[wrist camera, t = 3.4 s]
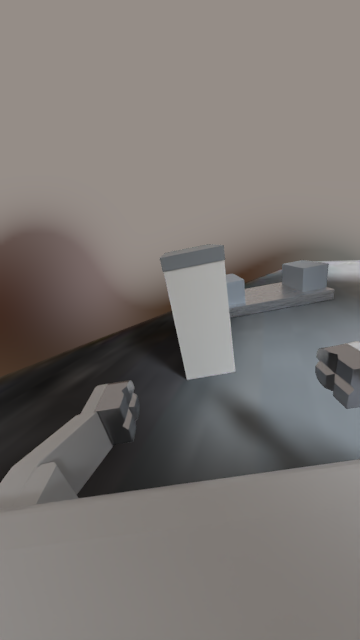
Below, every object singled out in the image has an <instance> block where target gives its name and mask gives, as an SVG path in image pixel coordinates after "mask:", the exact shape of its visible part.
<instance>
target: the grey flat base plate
mask: <svg viewBox="0 0 360 640" xmlns="http://www.w3.org/2000/svg"><path fill="white" fill-rule="evenodd" d="M333 297H334V289H332V288H328V287H326V288H322V289H317V290H311V291H306V292H301V291H298V290H296V289H293V288H291V287H288V286H286V285H283V284H282V282H280V283H274V284H269V285H264V286H258V287H253V288H248V289H245V303H240V304H235V305H229V314H230V318H232V317H238V316H243V315H249V314H254V313H260V312H265V311H271V310H277V309H282V308H288V307H293V306H299V305H304V304H310V303H315V302H321V301H327V300H332V299H333Z"/></svg>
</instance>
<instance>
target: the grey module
mask: <svg viewBox="0 0 360 640" xmlns="http://www.w3.org/2000/svg"><path fill="white" fill-rule="evenodd" d="M160 260H161V265H162V270H163V272H164V276H165V280H166V285H167V290H168V294H169V299H170V304H171V308H172V313H173V318H174V322H175V327H176V332H177V336H178V341H179V345H180V350H181V355H182V359H183V364H184V369H185V373H186V378H187V380H189V379H195V378H201V377H207V376H213V375H219V374H225V373H231V372H235V364H234V354H233V344H232V334H231V324H230V314H229V304H228V294H227V283H226V274H225V263H224V260H225V255H224V246H223V245H211V244H207V245H203V246H198V247H192V248H187V249H183V250H178V251H173V252H168V253H165V254H164V255H163V256H162V257H161V258H160Z"/></svg>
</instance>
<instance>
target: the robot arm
mask: <svg viewBox="0 0 360 640" xmlns="http://www.w3.org/2000/svg"><path fill="white" fill-rule="evenodd" d="M316 357H317V358H318V360H319V362H318V363H317V365H316V369H315V373H316V376H317V379H318V380H319V382H320V383H321V384H322V385H323V386H324V387H325V388H326V389H329V390H331V391H333V396H334V397H335V398H336V399H337V400H338V401H339V402H340V403H341V404H342V405H343V406H344V407H345V408H346V409H350V408H358V407H360V342H358V341H355V342H350V343H345V344H342V345H336V346H331V347H325V348H319V349H318V351H317V356H316ZM133 391H134V385H133V383H132V381H123V382H116V383H109V384H103V385H98V386H96V387H95V389H94V391H93V392H92V394H91V396H90V398H89V400H88V401H87V403H86V405H85V407H84V408H83V410H82V412H81V414H80V415H76V416H75V417H74V418H72V419H71V420H70V421H69V422H67V423H66V424H65V425H64V426H62V427H61V428H60V429H59V430H57V431H56V432H55V433H54V434H52V435H51V436H50V437H49V438H48V439H46V440H45V441H44V442H43V443H41V444H40V445H39V446H38V447H36V448H35V449H34V450H33V451H31V452H30V453H29V454H28V455H26V456H25V457H24V458H23V459H21V460H20V461H19V462H18V463H16V464H15V465H14V466H13V467H12V468H11V469H10V470H9V472H8V473H7V475H6V476H5V477H4V479H3V480H2V481H1V483H0V640H360V459H357V460H350V461H343V462H336V463H329V464H322V465H315V466H307V467H300V468H293V469H286V470H279V471H271V472H264V473H257V474H250V475H243V476H235V477H228V478H221V479H214V480H207V481H199V482H192V483H185V484H178V485H171V486H164V487H156V488H149V489H142V490H135V491H128V492H121V493H114V494H106V495H99V496H92V497H85V498H78V496H77V494H78V493H79V491H80V490H81V489H82V487H83V486H84V485H85V483H86V482H87V481H88V479H89V478H90V477H91V475H92V474H93V473H94V471H95V470H96V468H97V467H98V466H99V464H100V463H101V462H102V460H103V459H104V458H105V456H106V455H107V454H108V452H109V451H110V450H111V448H112V447H113V446H112V445H118V444H123V443H128V442H133V440H134V436H135V431H136V424H135V421H136V420H137V419H138V417H139V412H140V405H139V399H138V396H137V395H136V394H134V393H133Z"/></svg>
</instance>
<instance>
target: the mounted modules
mask: <svg viewBox="0 0 360 640" xmlns="http://www.w3.org/2000/svg"><path fill="white" fill-rule="evenodd" d="M328 265H329V264H327V263H320V262H313V261H306V260H301V261H296V262H290V263H285V264H282V284H283V285H286V286H288V287H291V288H293V289H296V290H298V291H301V292H306V291H311V290H317V289H322V288H326V286H327V275H328ZM226 283H227V294H228V304H229V305H235V304H240V303H245V287H244V279H242V278H240V277H238V276H236V275H234V274H228V275H226Z"/></svg>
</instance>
